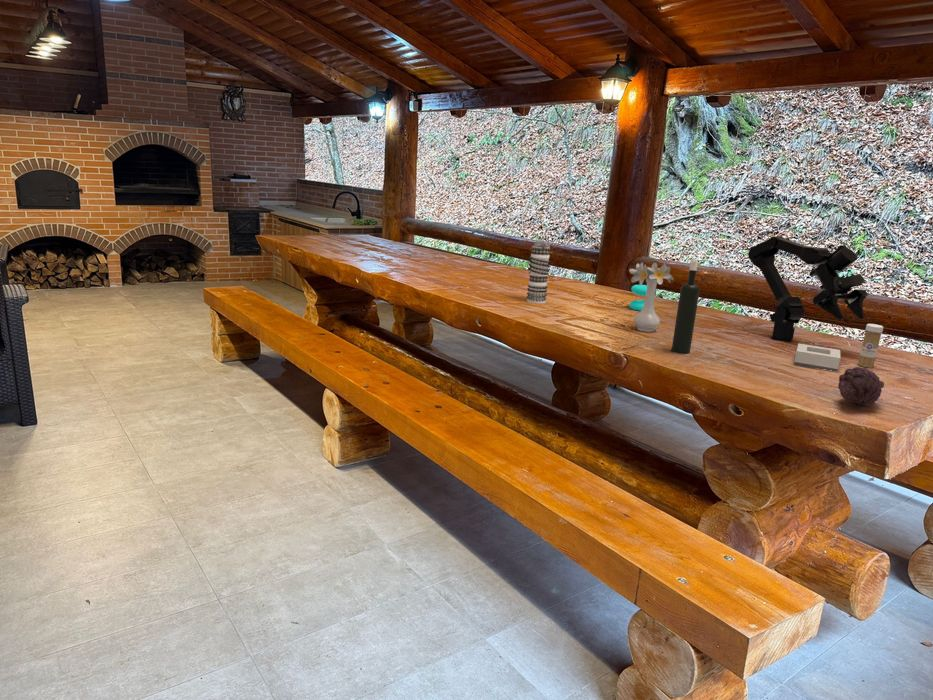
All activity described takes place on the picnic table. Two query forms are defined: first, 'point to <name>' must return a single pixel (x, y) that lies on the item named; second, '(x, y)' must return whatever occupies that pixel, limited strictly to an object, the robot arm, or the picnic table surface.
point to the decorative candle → (538, 273)
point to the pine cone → (860, 386)
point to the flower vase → (649, 294)
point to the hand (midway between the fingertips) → (852, 319)
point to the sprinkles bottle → (870, 345)
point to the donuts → (639, 291)
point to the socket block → (817, 357)
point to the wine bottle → (686, 313)
